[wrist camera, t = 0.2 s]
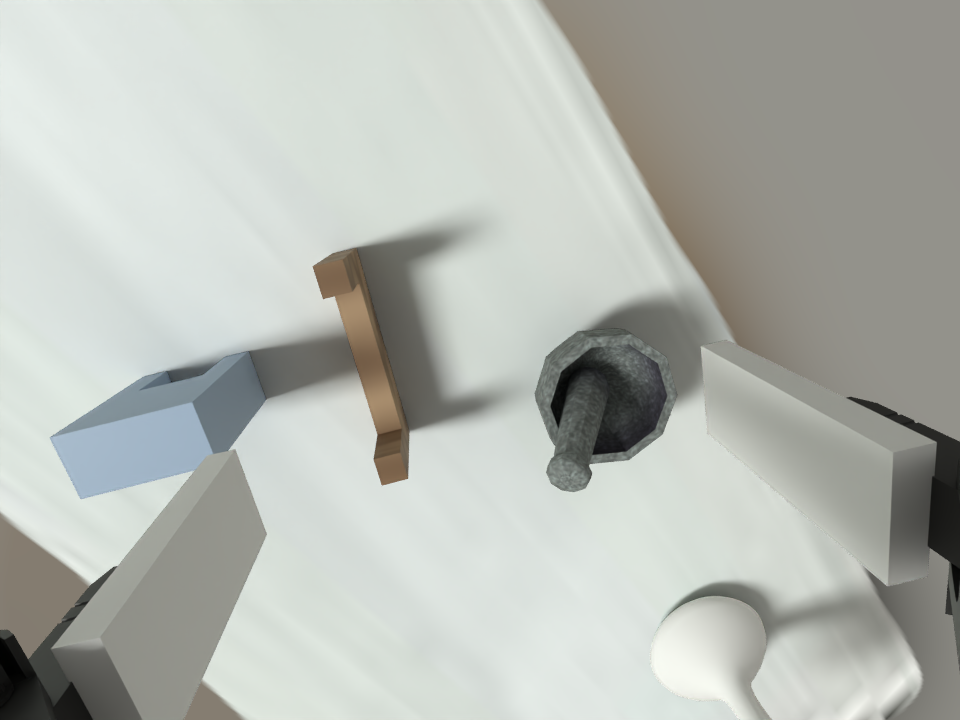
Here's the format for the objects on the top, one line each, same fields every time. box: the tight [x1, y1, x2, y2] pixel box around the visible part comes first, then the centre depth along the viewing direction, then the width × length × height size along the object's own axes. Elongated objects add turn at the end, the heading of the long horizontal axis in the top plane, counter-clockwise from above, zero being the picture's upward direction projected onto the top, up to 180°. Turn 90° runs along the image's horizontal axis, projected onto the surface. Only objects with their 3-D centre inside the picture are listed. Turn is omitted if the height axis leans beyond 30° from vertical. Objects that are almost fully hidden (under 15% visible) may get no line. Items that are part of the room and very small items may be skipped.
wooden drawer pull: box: [313, 248, 409, 485], centre depth 39 cm, size 15×2×8 cm, turn 13°
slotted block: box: [50, 351, 266, 499], centre depth 37 cm, size 4×8×11 cm, turn 103°
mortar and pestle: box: [535, 328, 677, 492], centre depth 39 cm, size 11×9×12 cm
